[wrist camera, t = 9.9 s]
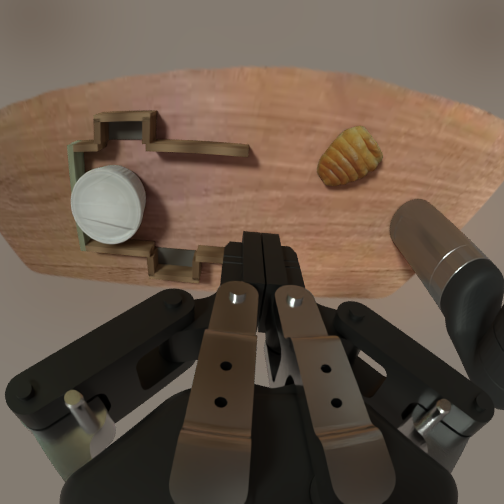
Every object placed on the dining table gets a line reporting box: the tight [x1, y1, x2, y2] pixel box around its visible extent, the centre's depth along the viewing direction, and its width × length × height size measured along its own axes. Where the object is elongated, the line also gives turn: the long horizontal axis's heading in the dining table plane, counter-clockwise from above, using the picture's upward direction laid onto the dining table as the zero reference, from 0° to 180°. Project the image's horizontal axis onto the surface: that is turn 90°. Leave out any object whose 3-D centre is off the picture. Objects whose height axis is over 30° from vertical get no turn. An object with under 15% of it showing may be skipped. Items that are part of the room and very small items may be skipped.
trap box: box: [67, 111, 249, 283], centre depth 41 cm, size 25×25×3 cm
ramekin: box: [71, 165, 146, 244], centre depth 40 cm, size 11×11×5 cm
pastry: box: [317, 126, 383, 186], centre depth 38 cm, size 9×7×4 cm
